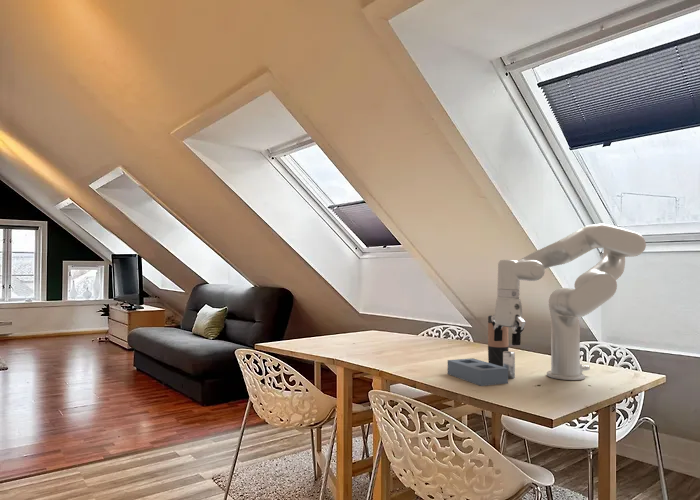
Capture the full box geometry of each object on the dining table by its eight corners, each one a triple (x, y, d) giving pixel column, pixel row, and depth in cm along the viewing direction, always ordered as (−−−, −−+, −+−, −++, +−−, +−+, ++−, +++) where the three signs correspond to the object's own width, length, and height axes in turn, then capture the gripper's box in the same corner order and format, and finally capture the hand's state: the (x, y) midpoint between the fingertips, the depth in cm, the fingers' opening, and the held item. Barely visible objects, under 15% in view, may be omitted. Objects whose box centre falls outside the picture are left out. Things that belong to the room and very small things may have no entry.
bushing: (509, 376, 189) (509, 350, 189) (517, 378, 185) (517, 352, 186) (500, 377, 188) (500, 351, 188) (508, 379, 184) (507, 353, 184)
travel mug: (502, 371, 198) (502, 317, 198) (484, 368, 203) (484, 316, 203) (512, 368, 203) (511, 316, 204) (493, 365, 208) (493, 314, 209)
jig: (472, 371, 196) (472, 358, 196) (508, 383, 178) (508, 368, 178) (447, 373, 192) (447, 360, 192) (480, 385, 174) (480, 370, 174)
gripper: (533, 296, 181) (532, 346, 180) (501, 293, 197) (500, 339, 196) (515, 296, 178) (514, 347, 177) (484, 292, 194) (483, 339, 193)
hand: (506, 342), depth 187 cm, fingers open, 9 cm apart
